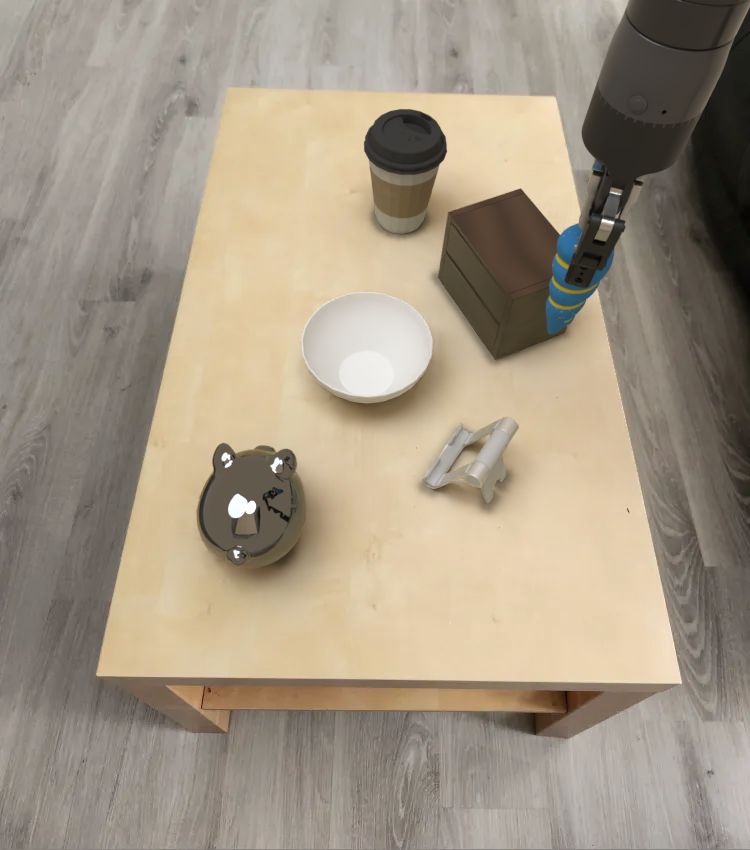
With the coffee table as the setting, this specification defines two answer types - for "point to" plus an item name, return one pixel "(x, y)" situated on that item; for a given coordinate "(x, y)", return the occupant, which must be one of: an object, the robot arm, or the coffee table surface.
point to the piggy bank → (251, 506)
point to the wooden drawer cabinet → (501, 270)
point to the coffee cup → (403, 166)
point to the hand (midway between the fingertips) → (581, 259)
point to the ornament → (565, 296)
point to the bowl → (366, 346)
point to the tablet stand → (484, 466)
